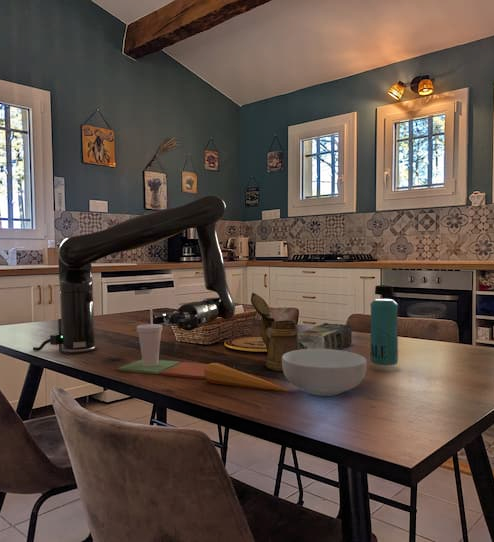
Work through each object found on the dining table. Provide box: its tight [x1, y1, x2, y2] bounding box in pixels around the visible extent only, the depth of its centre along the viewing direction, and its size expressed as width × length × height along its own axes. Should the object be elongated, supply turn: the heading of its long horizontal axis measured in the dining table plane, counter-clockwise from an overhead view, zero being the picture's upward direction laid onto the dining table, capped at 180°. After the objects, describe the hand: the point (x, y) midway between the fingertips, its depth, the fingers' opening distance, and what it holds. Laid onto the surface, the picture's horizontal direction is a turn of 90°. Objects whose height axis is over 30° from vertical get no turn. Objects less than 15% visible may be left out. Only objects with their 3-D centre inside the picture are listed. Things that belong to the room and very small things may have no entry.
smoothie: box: [136, 308, 163, 366], centre depth 126 cm, size 6×6×14 cm
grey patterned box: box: [298, 322, 353, 350], centre depth 145 cm, size 20×10×6 cm, turn 145°
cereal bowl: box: [282, 349, 367, 397], centre depth 104 cm, size 17×17×7 cm
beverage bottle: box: [369, 284, 399, 366], centre depth 121 cm, size 6×7×20 cm
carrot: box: [204, 362, 290, 392], centre depth 108 cm, size 20×4×4 cm, turn 61°
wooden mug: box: [250, 292, 300, 372], centre depth 125 cm, size 9×14×18 cm, turn 57°
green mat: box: [117, 358, 181, 375], centre depth 127 cm, size 11×11×1 cm
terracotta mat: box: [160, 361, 209, 380], centre depth 122 cm, size 11×11×1 cm
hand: (164, 323), depth 133 cm, fingers open, 8 cm apart
